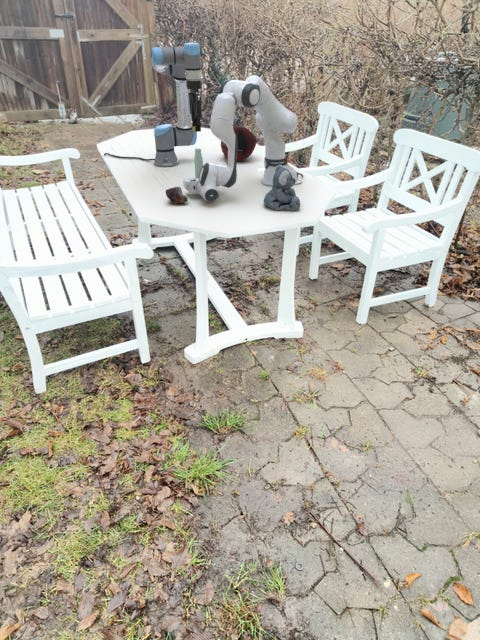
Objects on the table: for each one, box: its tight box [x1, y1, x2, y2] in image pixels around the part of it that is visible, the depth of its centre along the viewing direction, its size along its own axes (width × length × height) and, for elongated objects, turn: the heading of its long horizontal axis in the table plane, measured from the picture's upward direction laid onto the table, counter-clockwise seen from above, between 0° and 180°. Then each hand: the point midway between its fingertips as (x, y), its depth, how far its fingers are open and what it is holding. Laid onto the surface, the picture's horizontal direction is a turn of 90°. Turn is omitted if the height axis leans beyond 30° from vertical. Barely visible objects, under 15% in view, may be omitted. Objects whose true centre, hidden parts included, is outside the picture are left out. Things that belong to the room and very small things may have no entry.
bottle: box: [193, 147, 204, 178], centre depth 244 cm, size 5×5×22 cm
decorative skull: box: [220, 125, 257, 164], centre depth 297 cm, size 21×24×25 cm
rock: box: [165, 186, 188, 204], centre depth 232 cm, size 12×9×10 cm
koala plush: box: [263, 165, 301, 211], centre depth 223 cm, size 17×18×20 cm
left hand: (196, 130), depth 233 cm, fingers closed on cap, 4 cm apart
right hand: (199, 178), depth 248 cm, fingers closed on bottle, 4 cm apart
